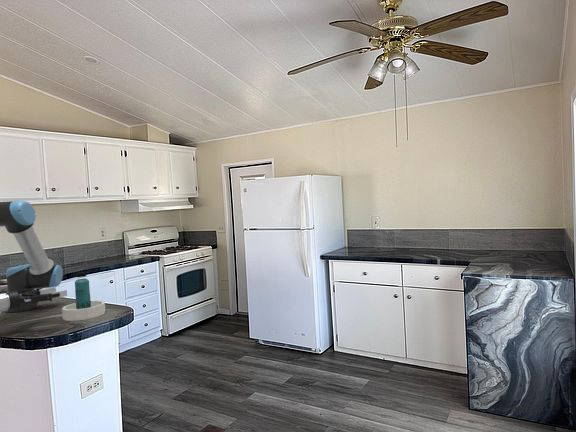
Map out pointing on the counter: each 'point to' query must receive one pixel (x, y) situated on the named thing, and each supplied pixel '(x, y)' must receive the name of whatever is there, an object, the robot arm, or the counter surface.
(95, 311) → the bowl
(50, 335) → the counter surface
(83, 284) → the beverage bottle
